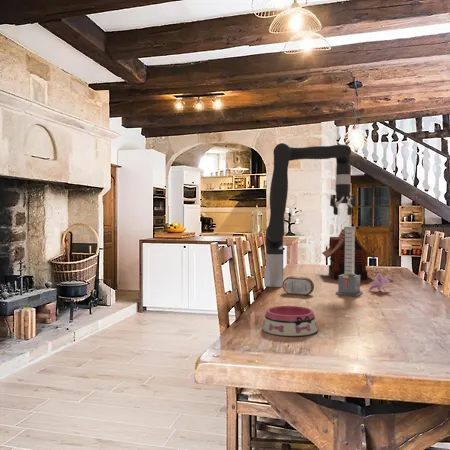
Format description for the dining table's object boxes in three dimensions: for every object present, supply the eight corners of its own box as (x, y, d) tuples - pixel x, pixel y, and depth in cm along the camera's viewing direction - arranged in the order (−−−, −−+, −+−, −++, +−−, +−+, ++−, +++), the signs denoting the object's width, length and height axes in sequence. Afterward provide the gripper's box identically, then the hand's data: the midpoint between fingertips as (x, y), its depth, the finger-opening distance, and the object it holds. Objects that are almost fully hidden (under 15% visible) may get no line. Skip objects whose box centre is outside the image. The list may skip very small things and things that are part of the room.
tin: (314, 295, 218) (314, 277, 217) (312, 296, 215) (312, 278, 215) (283, 292, 224) (283, 275, 224) (281, 293, 221) (281, 276, 221)
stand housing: (355, 296, 214) (356, 276, 214) (335, 294, 220) (335, 274, 220) (362, 293, 223) (362, 274, 223) (342, 291, 229) (342, 272, 228)
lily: (393, 293, 230) (385, 275, 234) (398, 287, 220) (390, 269, 223) (370, 300, 231) (363, 282, 234) (374, 295, 220) (366, 276, 224)
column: (352, 279, 218) (353, 227, 218) (343, 278, 221) (344, 226, 220) (355, 278, 222) (356, 226, 221) (346, 277, 225) (347, 226, 224)
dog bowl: (279, 340, 141) (280, 318, 140) (252, 326, 158) (252, 306, 157) (329, 334, 148) (329, 313, 148) (297, 321, 165) (298, 302, 165)
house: (321, 272, 301) (321, 228, 300) (365, 273, 298) (366, 229, 297) (326, 280, 266) (327, 230, 265) (377, 281, 263) (377, 231, 262)
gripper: (336, 182, 232) (335, 214, 232) (358, 183, 238) (358, 215, 238) (327, 183, 239) (327, 214, 239) (349, 184, 244) (349, 215, 245)
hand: (342, 214), depth 239 cm, fingers open, 8 cm apart
